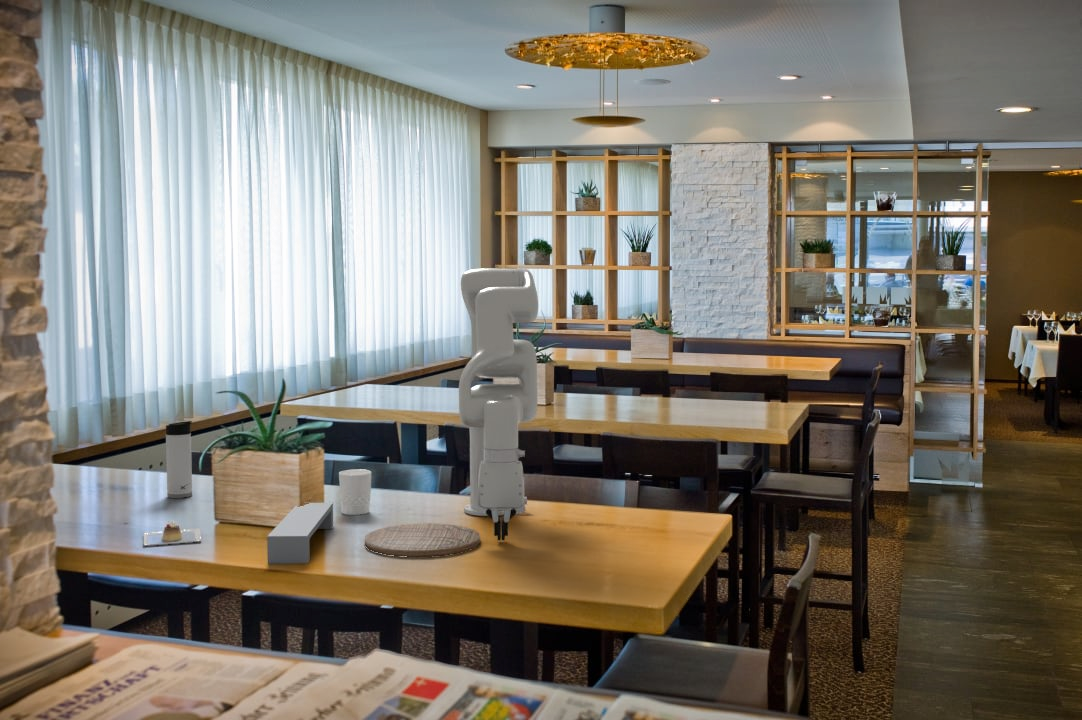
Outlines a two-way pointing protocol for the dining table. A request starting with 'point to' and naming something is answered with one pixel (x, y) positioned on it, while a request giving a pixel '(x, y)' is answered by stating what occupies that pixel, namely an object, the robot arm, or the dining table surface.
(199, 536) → the dessert
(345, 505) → the white cup
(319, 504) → the bridge
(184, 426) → the travel mug
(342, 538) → the dining table surface
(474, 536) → the trivet
